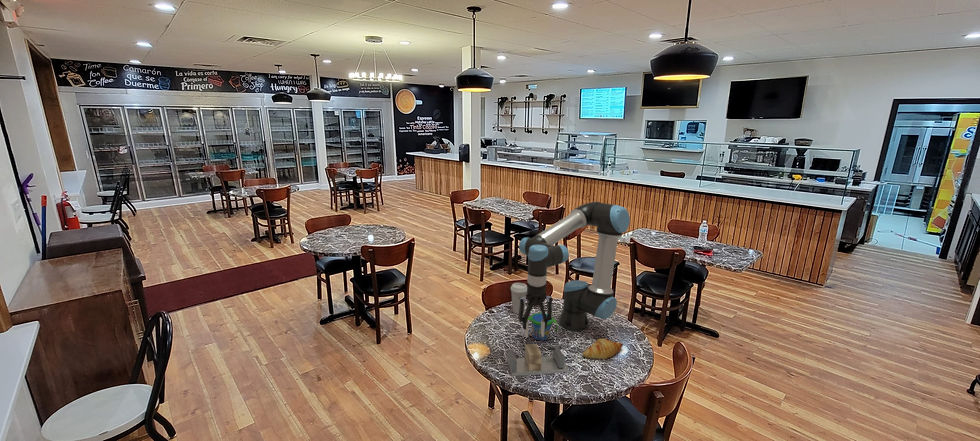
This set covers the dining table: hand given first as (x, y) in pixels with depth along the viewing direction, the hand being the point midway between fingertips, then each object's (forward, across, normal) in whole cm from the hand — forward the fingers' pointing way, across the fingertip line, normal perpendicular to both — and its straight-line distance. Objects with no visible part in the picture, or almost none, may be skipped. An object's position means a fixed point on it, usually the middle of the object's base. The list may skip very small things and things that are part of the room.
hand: (534, 335), depth 168 cm
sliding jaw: (+13, -11, -1) cm, 17 cm away
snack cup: (+15, -10, -24) cm, 30 cm away
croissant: (+15, -34, -7) cm, 38 cm away
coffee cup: (+15, -5, -52) cm, 54 cm away
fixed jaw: (+13, +9, 0) cm, 16 cm away
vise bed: (+15, -2, 0) cm, 15 cm away
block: (+13, 0, 0) cm, 13 cm away
